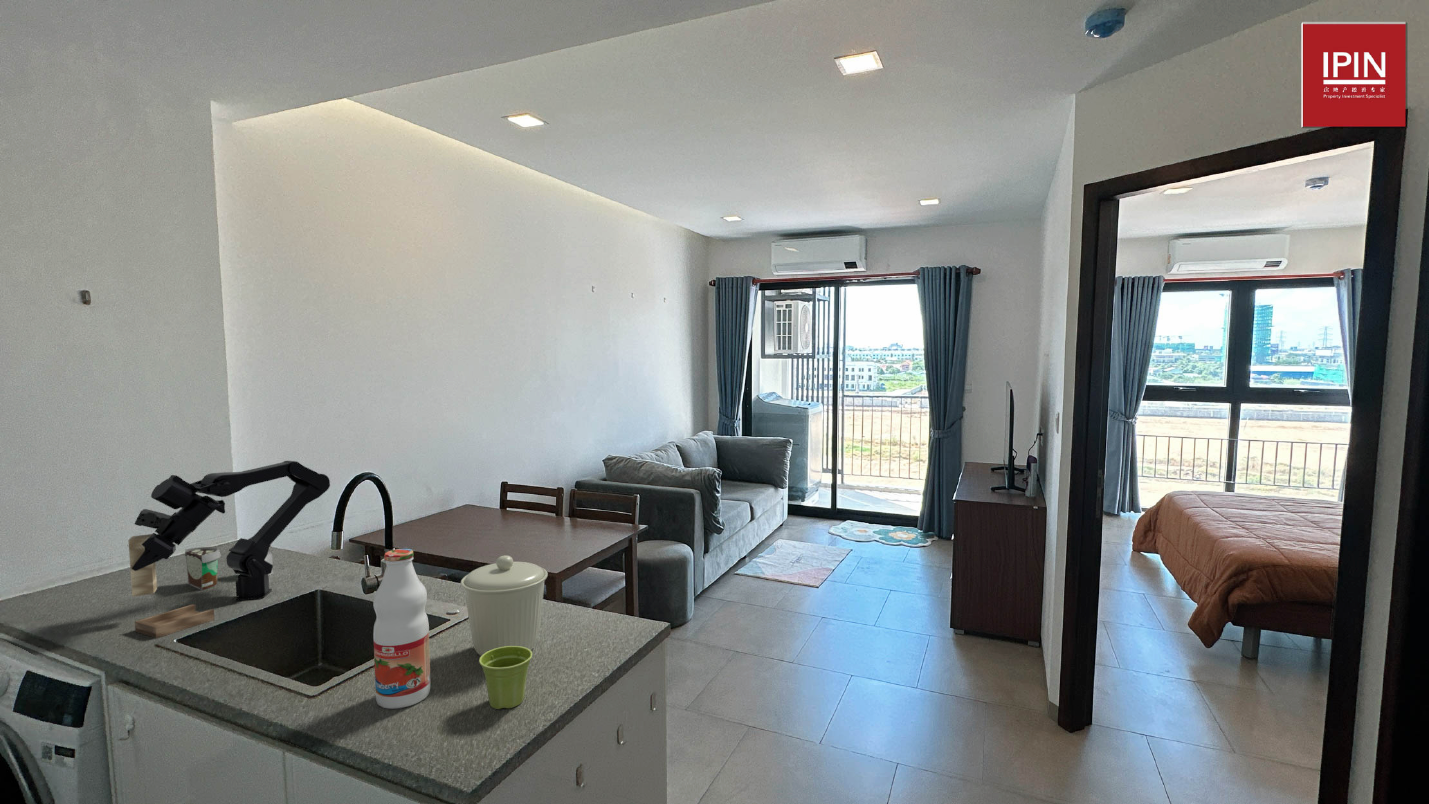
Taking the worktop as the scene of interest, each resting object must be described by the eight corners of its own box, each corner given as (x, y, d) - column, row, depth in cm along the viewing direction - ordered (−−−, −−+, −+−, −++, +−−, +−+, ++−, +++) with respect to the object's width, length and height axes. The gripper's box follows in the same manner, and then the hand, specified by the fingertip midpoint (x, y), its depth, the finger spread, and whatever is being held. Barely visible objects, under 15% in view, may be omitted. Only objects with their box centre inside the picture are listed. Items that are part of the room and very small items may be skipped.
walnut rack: (193, 613, 165) (192, 604, 165) (214, 619, 161) (213, 609, 161) (135, 631, 154) (134, 621, 154) (156, 638, 150) (155, 627, 150)
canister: (461, 641, 148) (458, 550, 147) (542, 627, 155) (540, 541, 154) (464, 675, 132) (461, 573, 130) (555, 659, 139) (553, 562, 138)
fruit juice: (440, 686, 127) (436, 546, 126) (410, 712, 118) (405, 560, 116) (397, 683, 129) (392, 543, 127) (364, 707, 120) (358, 558, 118)
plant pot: (511, 684, 128) (510, 641, 128) (543, 698, 123) (542, 653, 122) (469, 704, 121) (468, 659, 120) (502, 720, 115) (501, 672, 115)
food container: (229, 584, 187) (228, 550, 186) (204, 591, 182) (202, 555, 181) (211, 577, 193) (209, 544, 193) (186, 583, 188) (184, 549, 188)
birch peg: (157, 588, 164) (153, 533, 163) (153, 593, 160) (150, 537, 159) (136, 591, 161) (132, 536, 161) (132, 596, 158) (128, 540, 157)
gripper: (166, 491, 169) (113, 539, 164) (151, 504, 153) (91, 558, 148) (206, 516, 174) (155, 564, 169) (195, 532, 158) (139, 585, 153)
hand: (135, 567), depth 160 cm, fingers closed on birch peg, 4 cm apart
